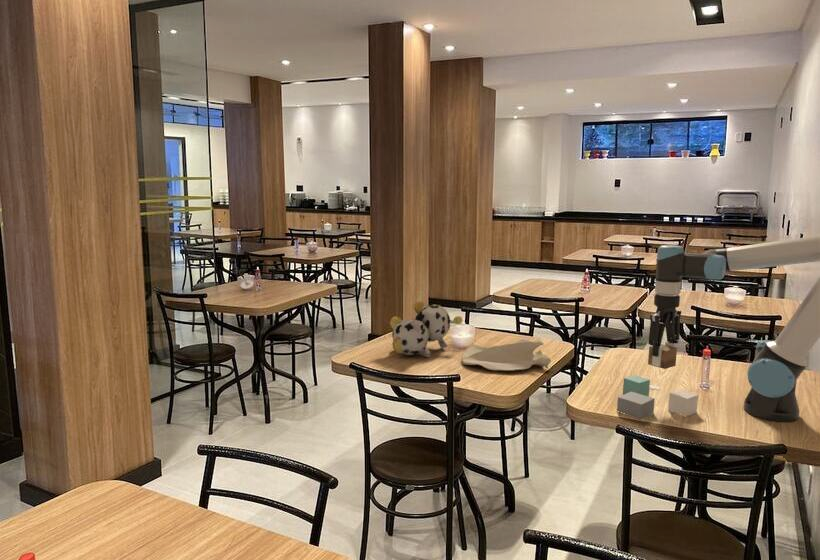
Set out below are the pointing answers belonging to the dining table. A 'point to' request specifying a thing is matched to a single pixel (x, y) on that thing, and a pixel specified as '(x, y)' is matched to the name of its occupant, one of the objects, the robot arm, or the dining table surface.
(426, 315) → the toy
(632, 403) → the platform block
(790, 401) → the robot arm
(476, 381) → the dining table surface
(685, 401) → the white cube
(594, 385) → the dining table surface
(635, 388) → the teal cube
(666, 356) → the walnut cube
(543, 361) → the beige wavy platter
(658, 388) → the phone stand
